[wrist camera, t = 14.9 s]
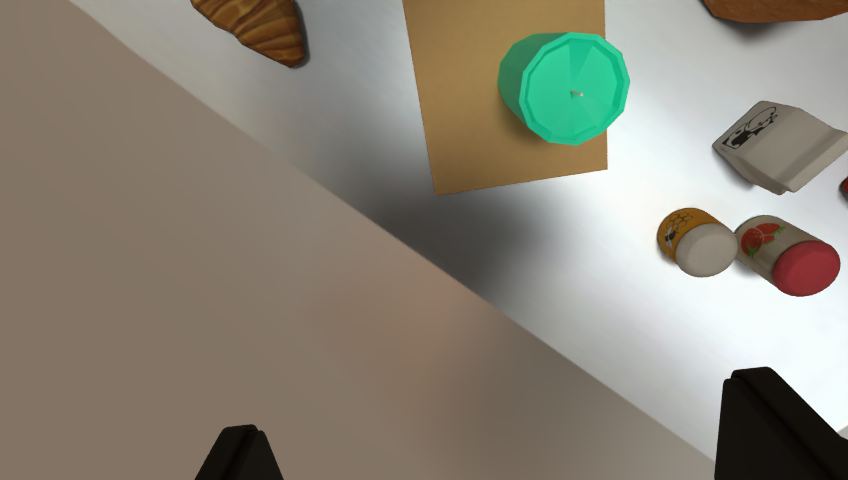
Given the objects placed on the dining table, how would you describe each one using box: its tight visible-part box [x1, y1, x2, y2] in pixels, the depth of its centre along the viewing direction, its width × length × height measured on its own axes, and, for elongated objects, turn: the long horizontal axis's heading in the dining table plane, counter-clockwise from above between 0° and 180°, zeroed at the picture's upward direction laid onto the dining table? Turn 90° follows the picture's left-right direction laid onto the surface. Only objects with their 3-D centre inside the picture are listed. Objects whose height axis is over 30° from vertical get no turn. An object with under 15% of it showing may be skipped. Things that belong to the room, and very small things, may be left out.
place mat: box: [402, 0, 607, 196], centre depth 35 cm, size 20×14×1 cm
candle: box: [497, 32, 630, 146], centre depth 30 cm, size 6×6×12 cm
